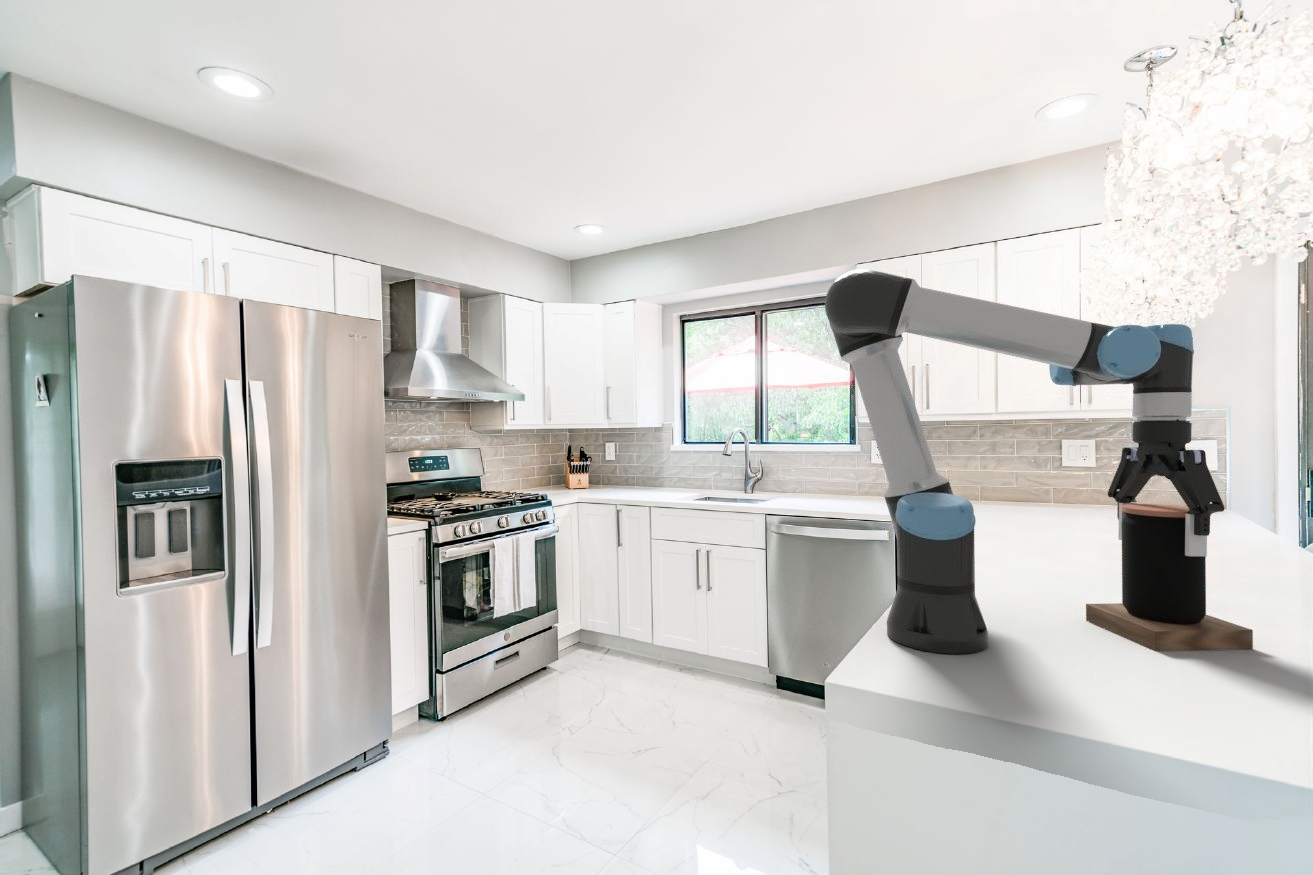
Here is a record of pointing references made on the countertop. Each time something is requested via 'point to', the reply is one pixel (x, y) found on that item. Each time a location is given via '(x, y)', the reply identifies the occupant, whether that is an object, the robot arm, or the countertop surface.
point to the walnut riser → (1170, 630)
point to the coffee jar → (1160, 566)
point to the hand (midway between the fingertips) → (1159, 547)
